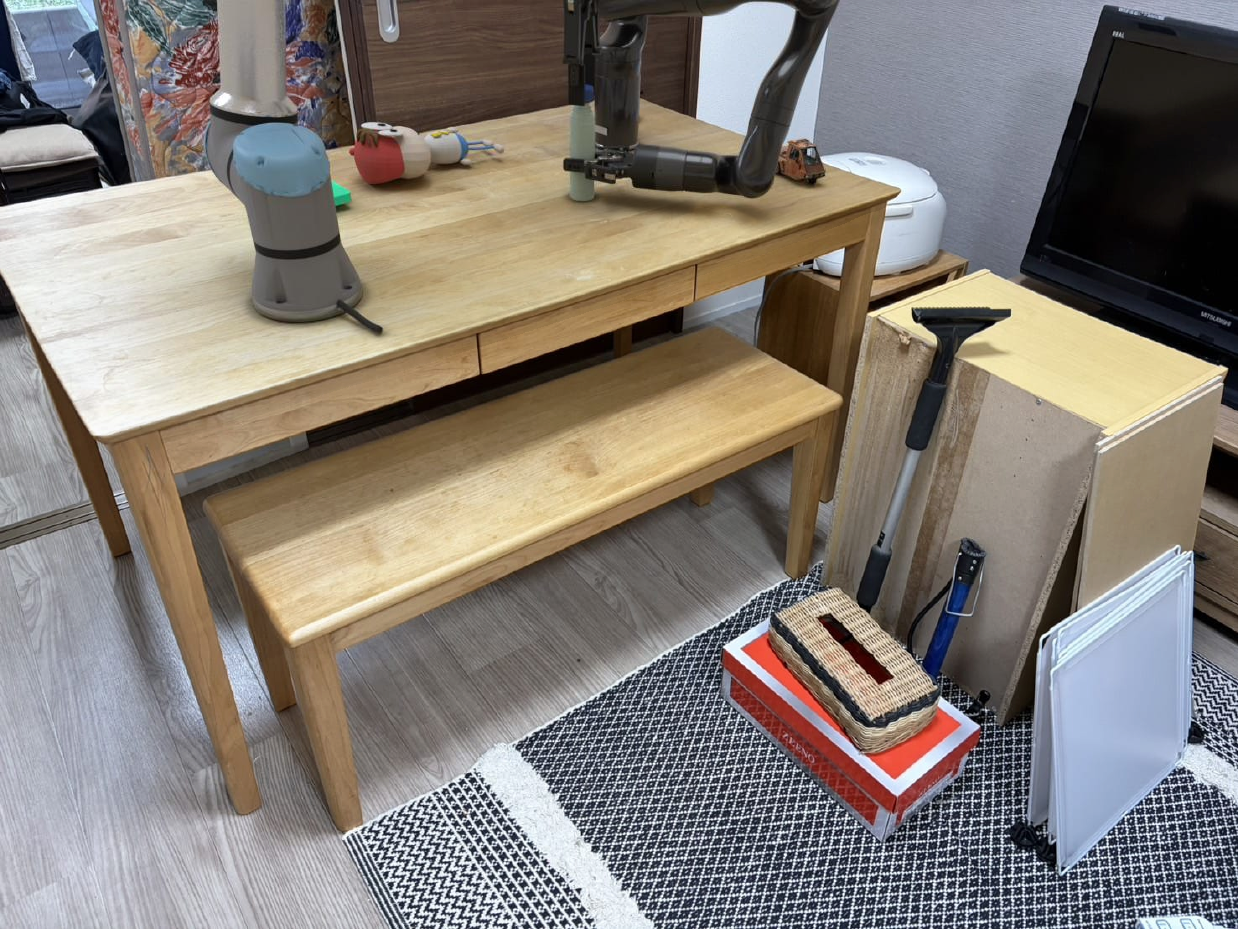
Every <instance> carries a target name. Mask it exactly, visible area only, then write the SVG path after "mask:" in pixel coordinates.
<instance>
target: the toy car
mask: <svg viewBox="0 0 1238 929" xmlns="http://www.w3.org/2000/svg"><path fill="white" fill-rule="evenodd" d="M786 143H787V144H788V145H782V148H781V153H780V157H779V160H778V164H777V168H776V172H775V175H782V176H785V177H787V178H789V179H791V180H794V181H796V182H805V181H807V184H809V185H811V186H814V185H815V184H816V183H817V181H818V180H819V179H822V178H824V177H826V172H827V170H826V169H825V166H824V164H823V161H822V158H821V157H820V153H819V151H818V149H817V147H818V146H817V145H816V144H814V143H812V142H810V140H809V139H807V138H798V139H792V140H791V139H790V140H788V141H786ZM812 149H814V152H815V157H813V156H812ZM808 150H810V151H809V153H810V154H808Z"/></svg>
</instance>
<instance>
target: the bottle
mask: <svg viewBox="0 0 1238 929" xmlns="http://www.w3.org/2000/svg"><path fill="white" fill-rule="evenodd" d="M595 149H596V146H595V120H594V112H593V110H592V106H591V103H586V104H585V106H576V105H573V109H572V110H571V114H570V117H569V158H576V159H584V160H586V159H595ZM592 170H595V169H592ZM569 198H570V199H572V200H573V201H576V202H588V201H589V202H590V201H591V200H593V199H595V181H594V180H589V179H586V178H585V175H584V173H579V172H569Z"/></svg>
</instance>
